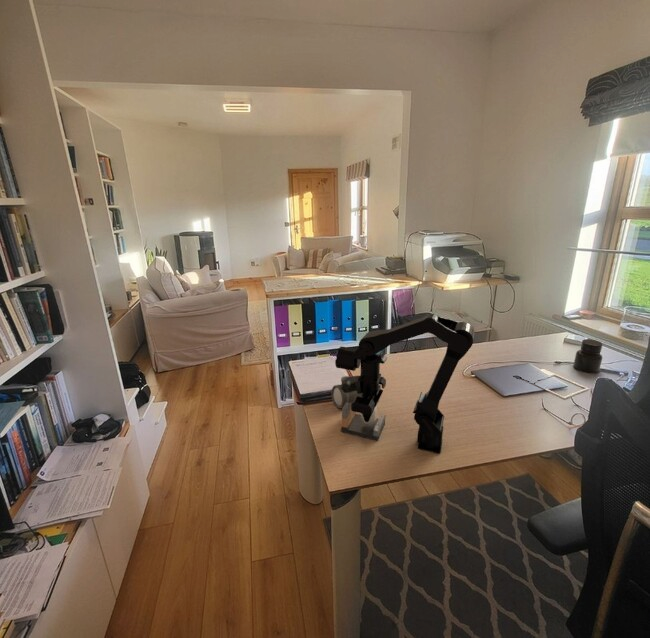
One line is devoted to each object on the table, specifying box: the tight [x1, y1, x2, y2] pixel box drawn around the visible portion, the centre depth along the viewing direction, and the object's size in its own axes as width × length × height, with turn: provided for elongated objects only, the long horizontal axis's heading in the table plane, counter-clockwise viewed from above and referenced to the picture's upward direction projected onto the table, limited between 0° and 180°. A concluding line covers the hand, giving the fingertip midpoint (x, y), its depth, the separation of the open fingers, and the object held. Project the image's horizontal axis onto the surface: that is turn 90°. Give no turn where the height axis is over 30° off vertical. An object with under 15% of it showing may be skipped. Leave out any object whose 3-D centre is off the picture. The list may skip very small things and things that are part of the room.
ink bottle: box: [573, 338, 603, 374], centre depth 146 cm, size 10×9×12 cm
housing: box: [360, 405, 378, 424], centre depth 111 cm, size 5×5×5 cm
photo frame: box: [540, 368, 590, 400], centre depth 137 cm, size 15×1×18 cm
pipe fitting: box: [331, 375, 362, 409], centre depth 126 cm, size 12×8×10 cm
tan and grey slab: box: [341, 402, 356, 428], centre depth 114 cm, size 2×8×6 cm, turn 157°
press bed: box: [340, 413, 386, 442], centre depth 113 cm, size 12×9×4 cm
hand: (368, 416), depth 111 cm, fingers closed on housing, 5 cm apart
